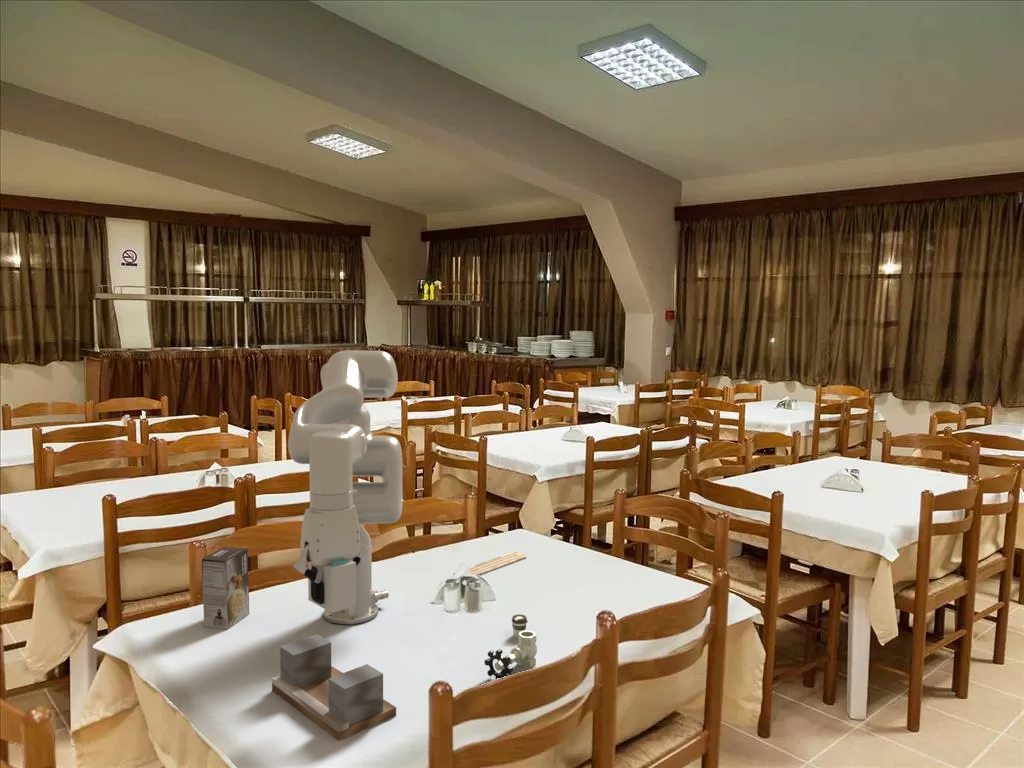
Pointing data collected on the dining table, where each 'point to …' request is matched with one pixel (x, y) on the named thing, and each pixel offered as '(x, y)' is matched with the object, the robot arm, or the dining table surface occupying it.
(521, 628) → the coffee cup
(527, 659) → the valve
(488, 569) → the striped wooden board
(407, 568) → the dining table surface
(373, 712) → the mounting plate
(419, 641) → the dining table surface
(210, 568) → the coffee box
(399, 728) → the dining table surface
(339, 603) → the module block
